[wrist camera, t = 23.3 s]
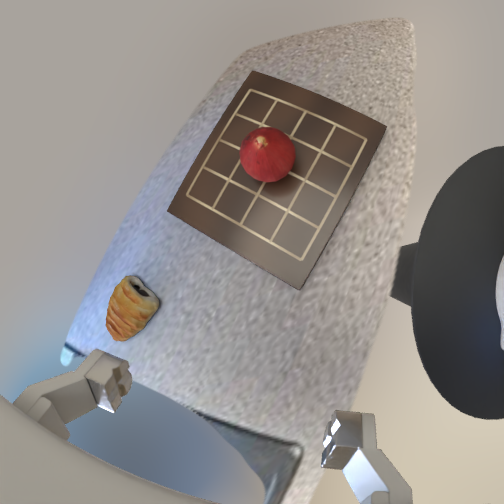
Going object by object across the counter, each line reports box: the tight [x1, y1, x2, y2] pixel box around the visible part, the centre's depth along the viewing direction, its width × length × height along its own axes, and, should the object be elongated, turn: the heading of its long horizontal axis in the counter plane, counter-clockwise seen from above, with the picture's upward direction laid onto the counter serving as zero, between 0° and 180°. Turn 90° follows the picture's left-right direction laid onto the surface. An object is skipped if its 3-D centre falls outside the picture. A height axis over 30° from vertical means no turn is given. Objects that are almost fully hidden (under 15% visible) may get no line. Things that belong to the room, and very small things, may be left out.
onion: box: [239, 127, 296, 182], centre depth 31 cm, size 6×6×8 cm
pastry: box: [106, 276, 159, 341], centre depth 39 cm, size 9×7×4 cm
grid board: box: [167, 71, 387, 290], centre depth 36 cm, size 19×22×2 cm
